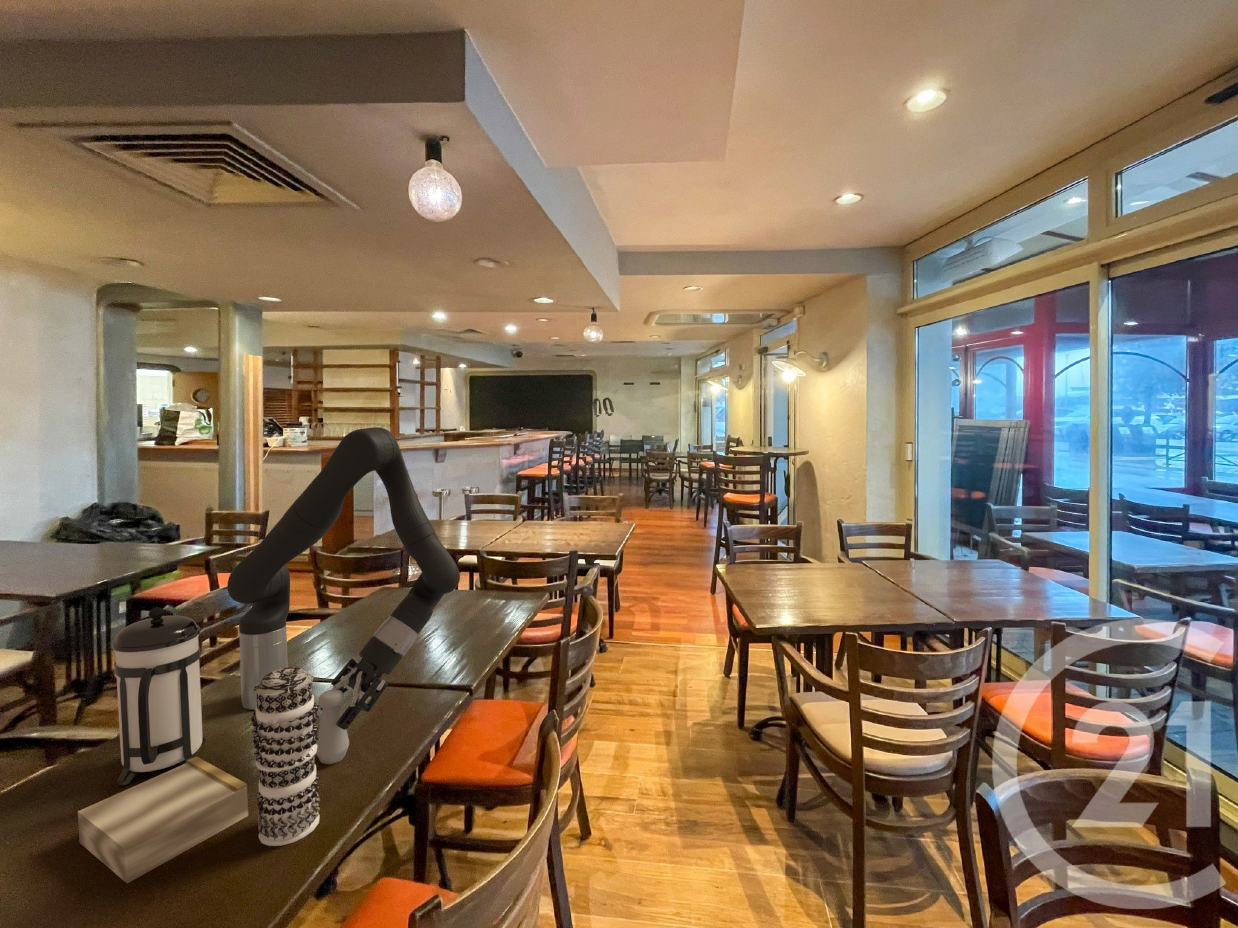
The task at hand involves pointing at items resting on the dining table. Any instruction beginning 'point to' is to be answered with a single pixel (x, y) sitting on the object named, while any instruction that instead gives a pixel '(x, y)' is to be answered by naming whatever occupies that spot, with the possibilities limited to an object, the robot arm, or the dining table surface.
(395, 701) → the dining table surface
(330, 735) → the salt shaker
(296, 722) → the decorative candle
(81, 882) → the dining table surface
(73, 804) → the dining table surface
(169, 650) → the coffee press
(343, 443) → the robot arm
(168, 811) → the wood block
